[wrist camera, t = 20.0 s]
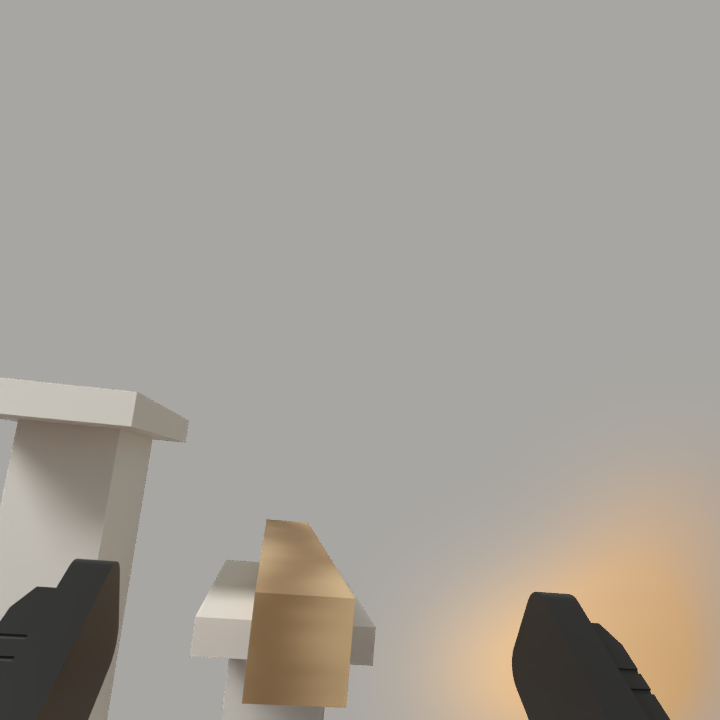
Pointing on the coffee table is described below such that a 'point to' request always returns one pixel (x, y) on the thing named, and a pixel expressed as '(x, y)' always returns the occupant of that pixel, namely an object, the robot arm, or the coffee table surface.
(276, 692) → the wooden slat
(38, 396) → the two-step rack
